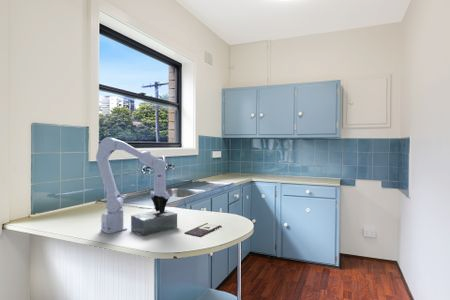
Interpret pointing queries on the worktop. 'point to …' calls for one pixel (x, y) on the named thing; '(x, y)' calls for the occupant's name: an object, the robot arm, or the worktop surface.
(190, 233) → the chocolate bar
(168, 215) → the cash box
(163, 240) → the worktop surface
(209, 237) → the worktop surface
